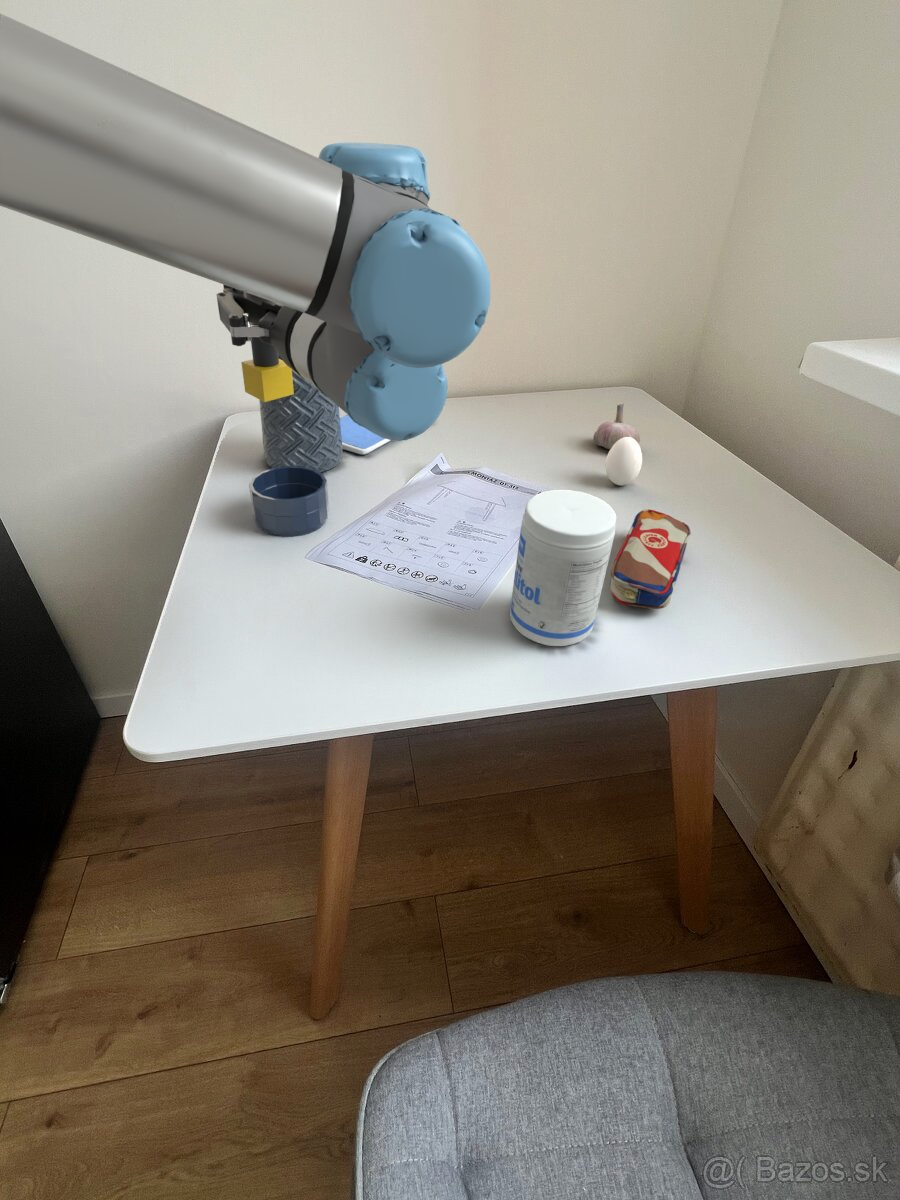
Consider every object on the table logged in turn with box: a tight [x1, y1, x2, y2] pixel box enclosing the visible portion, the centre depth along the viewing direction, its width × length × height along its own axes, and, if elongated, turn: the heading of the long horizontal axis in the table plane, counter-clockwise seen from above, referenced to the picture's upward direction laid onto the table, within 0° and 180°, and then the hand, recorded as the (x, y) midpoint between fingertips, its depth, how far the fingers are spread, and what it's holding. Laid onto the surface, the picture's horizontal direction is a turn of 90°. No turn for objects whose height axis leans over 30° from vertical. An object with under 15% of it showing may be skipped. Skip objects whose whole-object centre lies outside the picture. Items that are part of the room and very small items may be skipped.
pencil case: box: [609, 508, 692, 610], centre depth 87 cm, size 11×20×5 cm, turn 142°
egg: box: [605, 437, 643, 486], centre depth 106 cm, size 5×5×8 cm
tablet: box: [340, 414, 392, 456], centre depth 121 cm, size 19×13×1 cm, turn 146°
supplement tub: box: [509, 489, 617, 647], centre depth 75 cm, size 10×10×15 cm
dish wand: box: [241, 295, 294, 402], centre depth 76 cm, size 4×4×16 cm
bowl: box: [248, 466, 330, 537], centre depth 94 cm, size 10×10×6 cm
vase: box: [258, 354, 344, 473], centre depth 103 cm, size 12×12×28 cm
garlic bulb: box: [592, 401, 641, 451], centre depth 117 cm, size 8×7×8 cm
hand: (242, 286), depth 78 cm, fingers closed on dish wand, 3 cm apart
